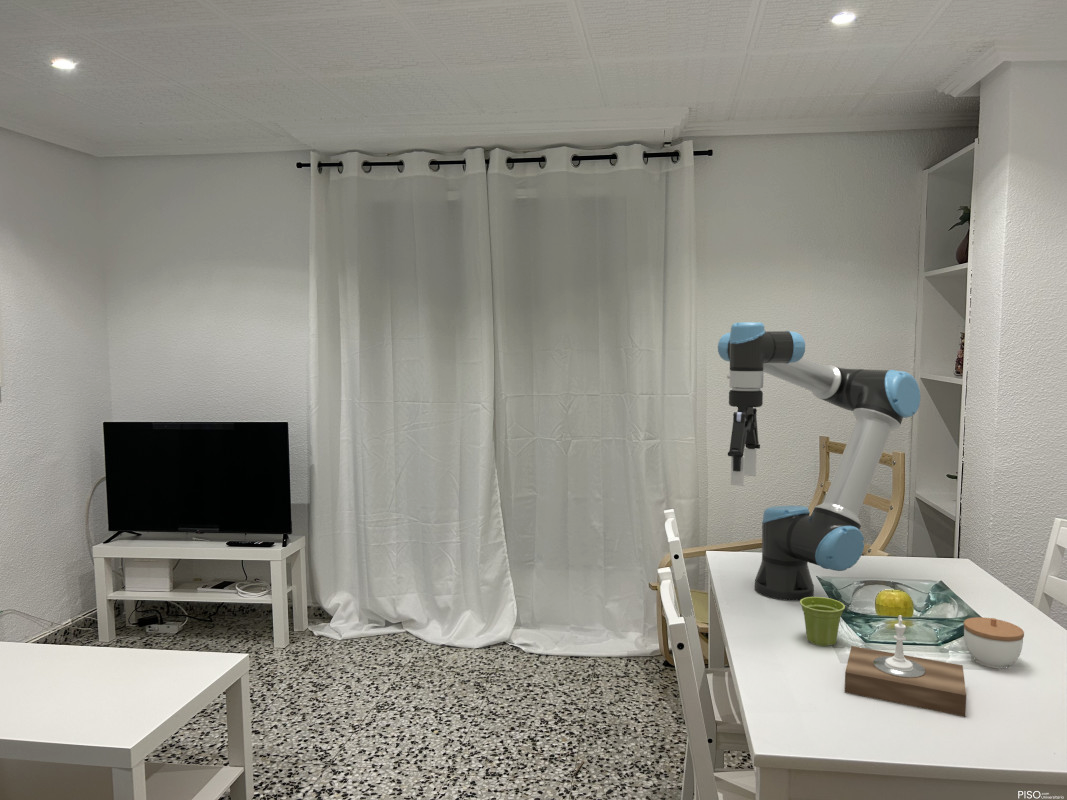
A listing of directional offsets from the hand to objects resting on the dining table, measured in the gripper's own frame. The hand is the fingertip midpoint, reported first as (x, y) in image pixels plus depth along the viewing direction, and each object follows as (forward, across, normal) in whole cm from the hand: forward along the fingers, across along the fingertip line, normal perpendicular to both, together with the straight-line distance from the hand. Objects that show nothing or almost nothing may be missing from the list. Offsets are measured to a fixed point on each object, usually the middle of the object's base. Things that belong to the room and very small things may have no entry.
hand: (743, 480), depth 173 cm
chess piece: (+31, +18, +34) cm, 49 cm away
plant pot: (+35, +1, +18) cm, 39 cm away
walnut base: (+35, +18, +35) cm, 52 cm away
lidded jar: (+35, -4, +51) cm, 62 cm away
